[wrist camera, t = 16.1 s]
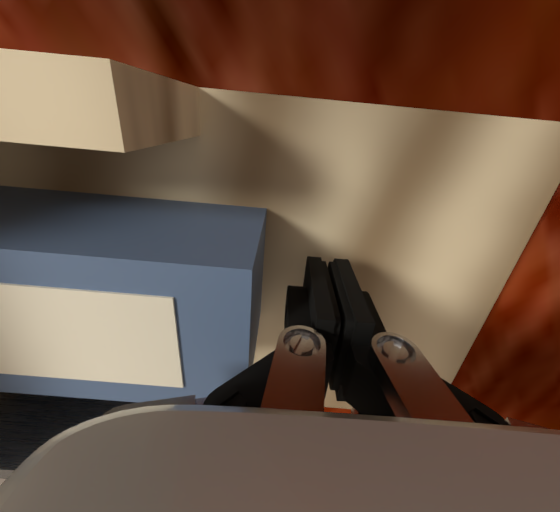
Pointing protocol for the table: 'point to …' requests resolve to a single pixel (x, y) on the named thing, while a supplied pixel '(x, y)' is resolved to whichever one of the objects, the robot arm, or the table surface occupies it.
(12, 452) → the bookend
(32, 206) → the boxed book
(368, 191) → the shelf
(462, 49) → the table surface
